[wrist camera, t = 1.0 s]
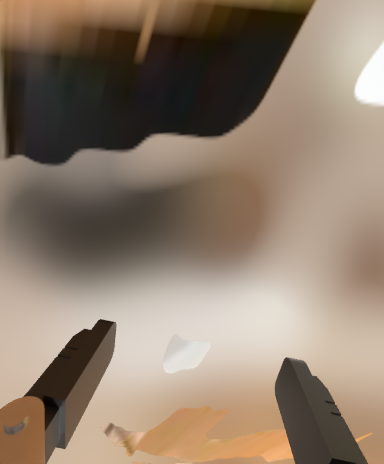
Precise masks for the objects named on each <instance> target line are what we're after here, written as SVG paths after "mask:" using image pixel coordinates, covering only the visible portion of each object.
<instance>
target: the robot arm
mask: <svg viewBox="0 0 384 464" xmlns="http://www.w3.org/2000/svg"><path fill="white" fill-rule="evenodd" d="M115 335H116V322H111V321H107V320H101V319H100V320H98V322H97V323H96V324H95V326H94V327H93V328H92V330H88V329H84V330H82V331H81V332H79V333H78V334H76V335H74V336H73V337H72V338H71V340H70V341H69V342H68V343H67V345H66V346H65V348H64V349H63V350H62V351H61V352H60V354H58V357H56V358H55V359H54V360H53V362H52V363H51V364H50V365H49V367H48V368H47V369H46V370H45V372H44V373H43V374H42V375H41V376H40V378H39V379H38V380H37V381H36V383H35V384H34V385H33V386H32V387H31V389H30V390H29V391H28V392H27V393H26V395H24V397H22V398H19V399H16V400H14V401H12V402H10V403H8V404H7V405H6V406H4V407H3V408H1V409H0V464H47V462H48V460H49V458H50V456H51V455H52V452H53V451H54V449H55V447H58V448H62V449H65V448H66V446H67V444H68V442H69V441H70V439H71V437H72V435H73V433H74V431H75V429H76V427H77V425H78V423H79V421H80V419H81V417H82V415H83V414H84V412H85V409H86V408H87V406H88V404H89V402H90V400H91V398H92V396H93V394H94V392H95V390H96V388H97V386H98V384H99V382H100V381H101V379H102V377H103V375H104V373H105V371H106V369H107V367H108V365H109V363H110V361H111V358H112V355H113V352H114V346H115ZM275 395H276V399H277V403H278V406H279V410H280V413H281V416H282V420H283V423H284V426H285V430H286V433H287V437H288V440H289V443H290V447H291V450H292V454H293V457H294V460H295V464H368V463H367V461H366V459H365V457H364V456H363V454H362V452H361V450H360V448H359V446H358V444H357V443H356V441H355V439H354V437H353V435H352V433H351V432H350V430H349V428H348V426H347V424H346V422H345V420H344V419H343V417H341V413H340V412H339V409H338V408H337V406H336V405H335V402H334V400H333V399H332V397H331V395H330V393H329V391H328V389H327V388H326V387H325V386H324V385H323V383H322V382H321V381H320V380H319V379H318V378H317V377H316V376H312V374H311V372H310V370H309V368H308V366H307V364H306V363H305V362H304V361H302V360H297V359H292V358H285V359H284V361H283V364H282V366H281V369H280V372H279V374H278V377H277V380H276V383H275Z"/></svg>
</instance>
